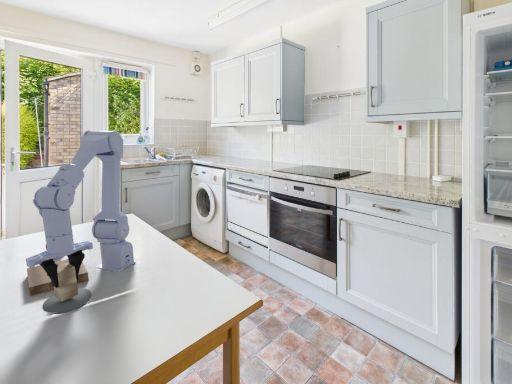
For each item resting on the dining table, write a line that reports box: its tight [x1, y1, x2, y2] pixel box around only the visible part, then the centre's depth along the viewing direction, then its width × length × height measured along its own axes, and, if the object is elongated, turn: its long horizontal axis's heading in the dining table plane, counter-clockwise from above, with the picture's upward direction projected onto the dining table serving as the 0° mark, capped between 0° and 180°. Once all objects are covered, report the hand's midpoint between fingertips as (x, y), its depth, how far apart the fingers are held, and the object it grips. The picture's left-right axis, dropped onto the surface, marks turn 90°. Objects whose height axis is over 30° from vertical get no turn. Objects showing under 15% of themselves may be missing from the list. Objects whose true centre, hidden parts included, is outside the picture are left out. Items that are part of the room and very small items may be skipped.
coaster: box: [42, 287, 93, 315], centre depth 78 cm, size 11×11×1 cm
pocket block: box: [26, 258, 90, 297], centre depth 89 cm, size 14×14×3 cm
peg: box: [53, 263, 78, 301], centre depth 78 cm, size 4×4×8 cm
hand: (65, 282), depth 77 cm, fingers closed on peg, 4 cm apart
